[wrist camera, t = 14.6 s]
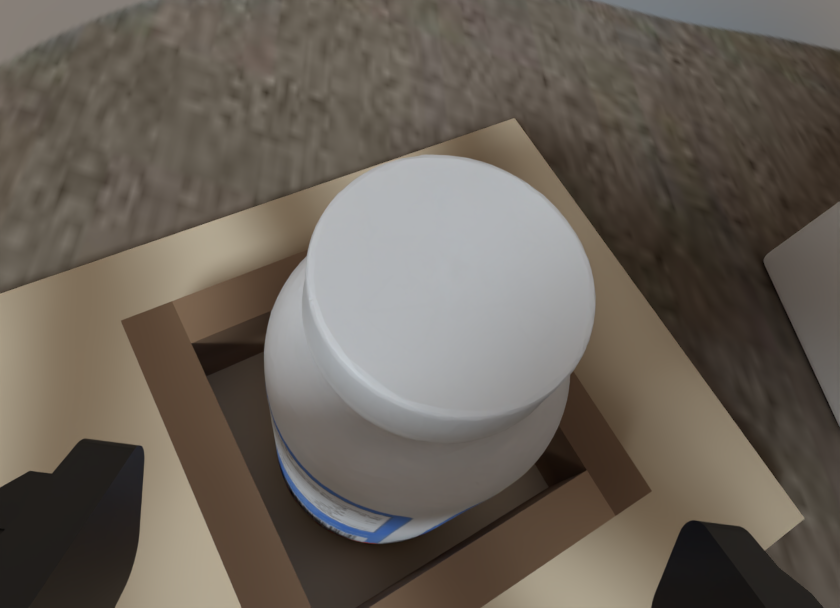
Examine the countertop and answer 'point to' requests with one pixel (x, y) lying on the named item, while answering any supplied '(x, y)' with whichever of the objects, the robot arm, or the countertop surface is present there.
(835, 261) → the medicine bottle
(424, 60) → the countertop surface
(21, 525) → the robot arm
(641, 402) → the collar board
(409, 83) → the countertop surface
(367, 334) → the pill bottle
